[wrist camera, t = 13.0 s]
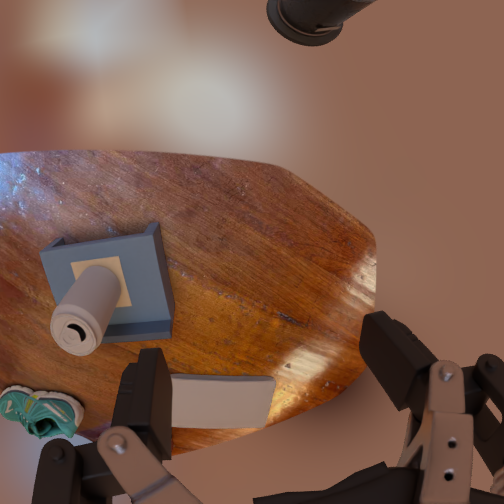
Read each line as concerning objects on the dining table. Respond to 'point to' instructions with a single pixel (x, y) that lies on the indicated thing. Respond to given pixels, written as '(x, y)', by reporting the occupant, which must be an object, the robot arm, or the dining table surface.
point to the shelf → (120, 281)
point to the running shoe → (42, 411)
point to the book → (221, 401)
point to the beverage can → (86, 311)
